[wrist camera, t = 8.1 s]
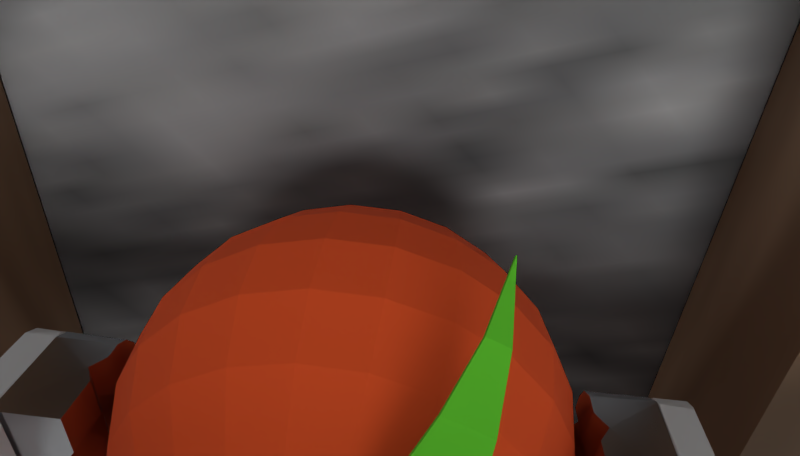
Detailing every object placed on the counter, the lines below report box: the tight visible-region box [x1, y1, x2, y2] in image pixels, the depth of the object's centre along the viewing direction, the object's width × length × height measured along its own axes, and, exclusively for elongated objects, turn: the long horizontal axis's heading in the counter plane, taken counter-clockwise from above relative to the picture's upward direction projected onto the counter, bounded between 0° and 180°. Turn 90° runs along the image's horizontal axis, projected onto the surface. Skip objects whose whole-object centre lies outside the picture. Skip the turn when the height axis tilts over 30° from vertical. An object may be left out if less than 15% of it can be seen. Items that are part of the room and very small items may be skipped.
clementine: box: [106, 205, 575, 456], centre depth 9 cm, size 8×7×7 cm
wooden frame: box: [0, 23, 800, 456], centre depth 11 cm, size 17×16×4 cm
